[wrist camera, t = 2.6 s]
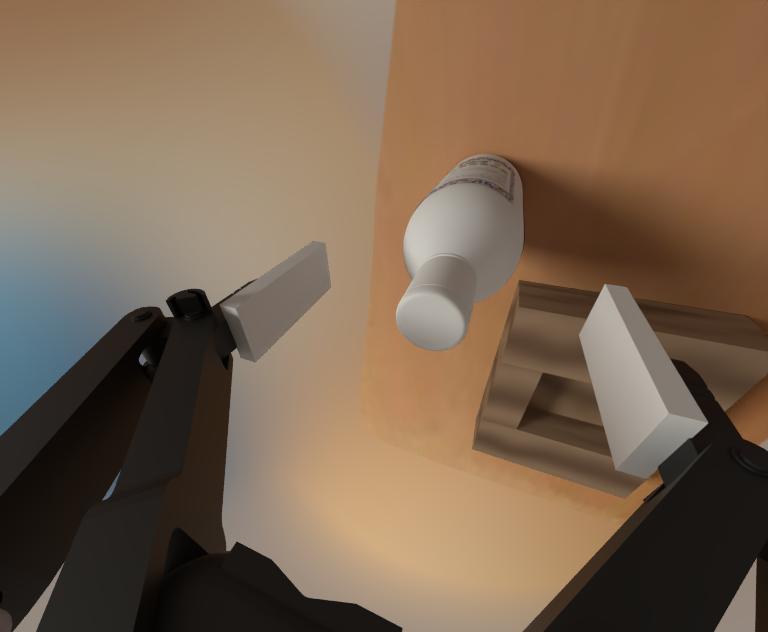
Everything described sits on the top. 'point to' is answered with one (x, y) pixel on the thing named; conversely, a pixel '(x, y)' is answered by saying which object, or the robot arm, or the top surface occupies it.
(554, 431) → the walnut holder
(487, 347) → the top surface
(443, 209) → the bath foam
